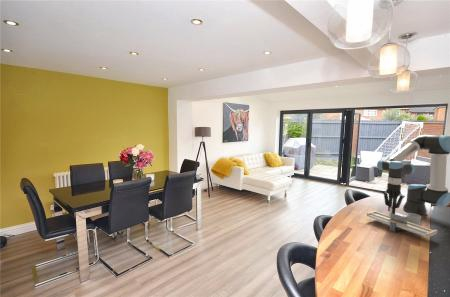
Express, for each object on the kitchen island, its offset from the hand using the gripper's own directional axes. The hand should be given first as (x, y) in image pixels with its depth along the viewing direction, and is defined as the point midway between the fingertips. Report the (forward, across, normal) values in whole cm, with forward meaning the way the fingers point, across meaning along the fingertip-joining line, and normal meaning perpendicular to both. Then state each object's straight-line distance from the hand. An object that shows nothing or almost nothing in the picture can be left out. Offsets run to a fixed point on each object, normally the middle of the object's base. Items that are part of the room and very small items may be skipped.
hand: (391, 216), depth 157 cm
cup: (+8, +6, +14) cm, 17 cm away
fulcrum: (+7, +5, 0) cm, 9 cm away
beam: (+3, +5, 0) cm, 6 cm away
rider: (+2, +5, 0) cm, 5 cm away
